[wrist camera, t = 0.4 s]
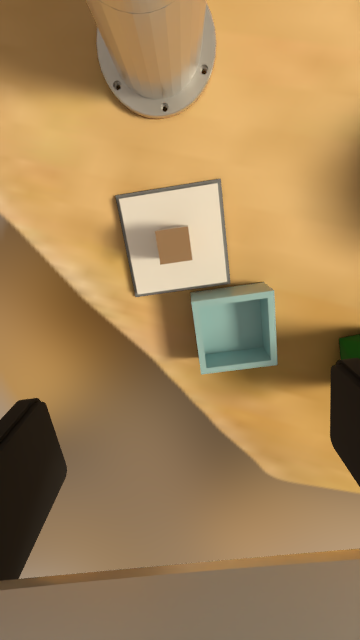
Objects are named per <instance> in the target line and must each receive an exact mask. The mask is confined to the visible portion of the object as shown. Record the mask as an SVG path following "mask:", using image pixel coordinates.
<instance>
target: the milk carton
mask: <svg viewBox="0 0 360 640" xmlns="http://www.w3.org/2000/svg"><path fill="white" fill-rule="evenodd" d="M339 344H340V357H341V360H343V359H351V358H359V359H360V334H358V335H353V336H348V337H344V338H339Z"/></svg>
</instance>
